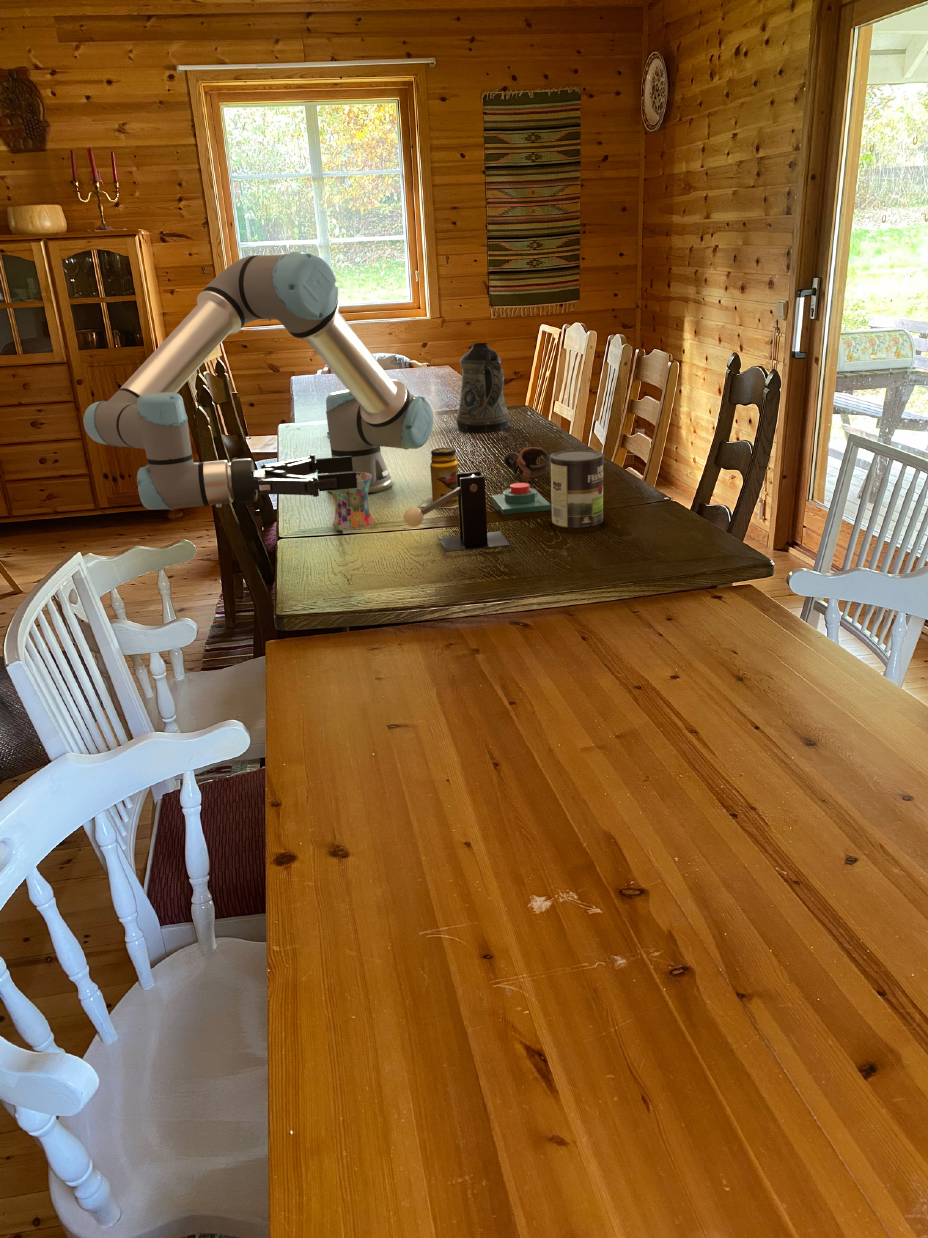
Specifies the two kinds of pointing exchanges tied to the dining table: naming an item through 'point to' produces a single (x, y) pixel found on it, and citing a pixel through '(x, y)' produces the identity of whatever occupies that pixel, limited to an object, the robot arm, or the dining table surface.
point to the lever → (427, 508)
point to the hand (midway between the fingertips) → (354, 471)
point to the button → (520, 488)
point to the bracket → (472, 517)
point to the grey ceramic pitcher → (482, 392)
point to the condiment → (443, 476)
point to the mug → (353, 505)
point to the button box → (519, 502)
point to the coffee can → (577, 488)
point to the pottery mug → (528, 462)
